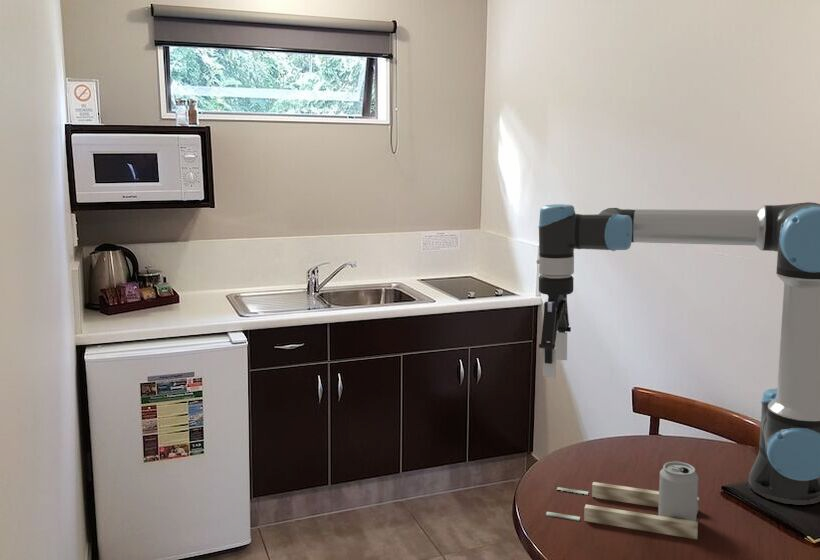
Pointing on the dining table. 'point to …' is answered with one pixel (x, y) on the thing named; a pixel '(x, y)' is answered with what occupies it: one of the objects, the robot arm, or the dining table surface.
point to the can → (678, 491)
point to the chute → (628, 517)
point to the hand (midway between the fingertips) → (555, 367)
